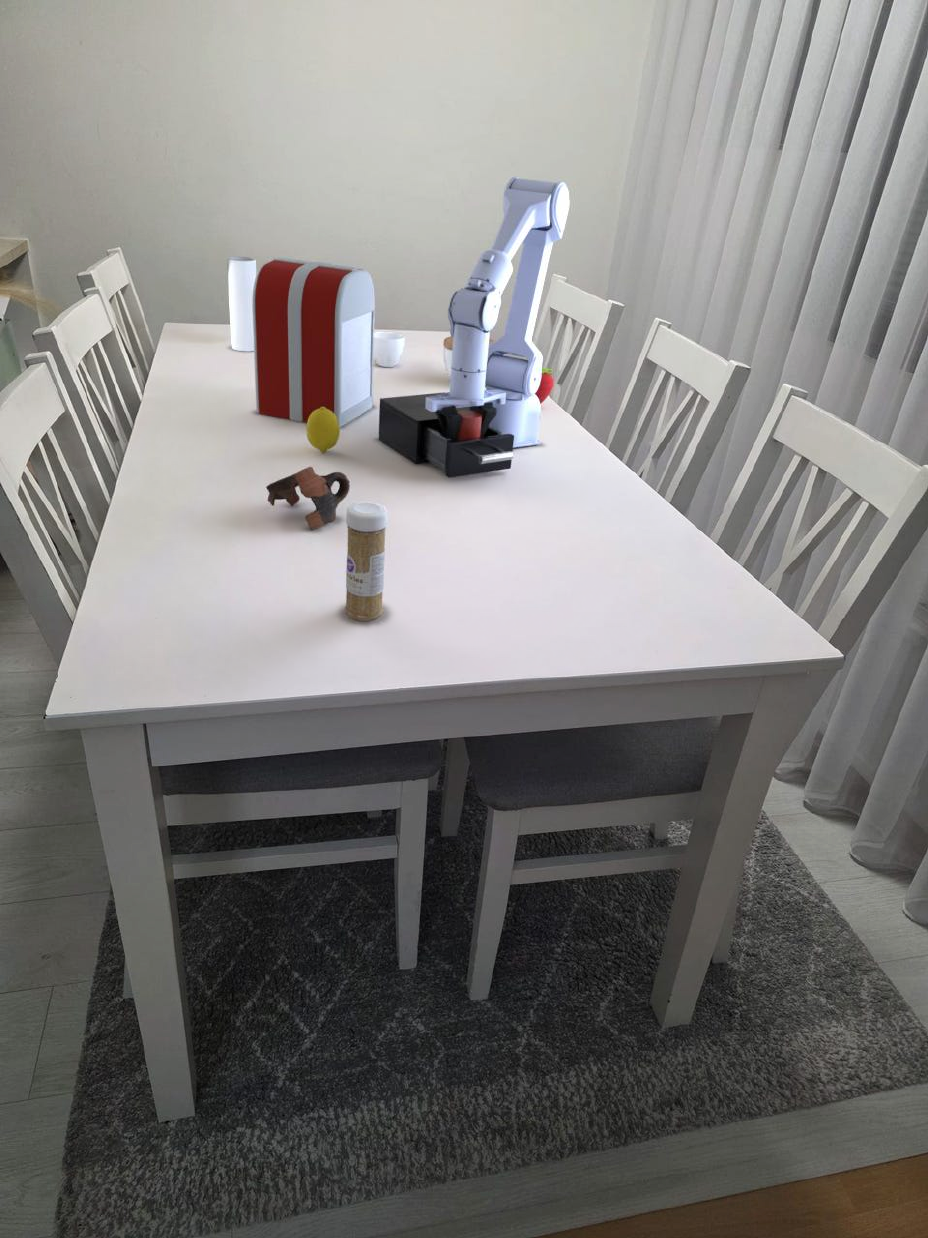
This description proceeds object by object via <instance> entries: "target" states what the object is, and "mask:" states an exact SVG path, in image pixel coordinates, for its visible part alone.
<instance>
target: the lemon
mask: <svg viewBox="0 0 928 1238" xmlns="http://www.w3.org/2000/svg"><path fill="white" fill-rule="evenodd" d="M306 437H307V440H308V442H309V444H310V445H311V446H312V447H313V448H315V449H317V450H318V451H319V452H320V453H323V454H324V453H326V452H327V451H328V450H330V449H332V448H334V447H335V446H336V444H338V441H339V438H340V428H339V423H338V420H337V417H336V416H335V414H334V413H333V412H332V411H330V410H328V409H326V408H325V407H321V408H320V409H317V410H315V411H314V412H312V414H311V415H310V416H309V419H308V422H306Z"/></svg>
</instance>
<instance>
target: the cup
mask: <svg viewBox="0 0 928 1238" xmlns="http://www.w3.org/2000/svg"><path fill="white" fill-rule="evenodd" d="M405 340H406V335H404V334H403V333H399V332H395V331H374V358H373V362H376V363H377V365H378V366H379V367H383V368H384V367H385V368H393V367H396V366H397V365H398V363H399V362H400V360H401V359H402V357H403V354H404V350H405V345H406V344H405V343H406V341H405Z"/></svg>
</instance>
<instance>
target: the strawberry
mask: <svg viewBox="0 0 928 1238" xmlns="http://www.w3.org/2000/svg"><path fill="white" fill-rule="evenodd" d="M546 361H547V359H545V360H544V361H543V362H542V368H541V372H542V374H541V381H540V385H539V388H538V390H537V391H536V393H535V395H536V396H537V397H538V399H539V401H540V405H542V403H544V402H545V401H546V400H547V398H548V397H549V396H550V394H551V393H552V390H553V388H554V387H555V385H554V384H555V382H554V381H555V380H554V377H553V374H552V372H555V371H556V370H555V369H550V368H546V369H545V368H544V367H543V365H544V364H545V363H546Z"/></svg>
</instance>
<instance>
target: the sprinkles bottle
mask: <svg viewBox="0 0 928 1238" xmlns="http://www.w3.org/2000/svg"><path fill="white" fill-rule="evenodd" d="M345 523H346V526H347V550H346V551H347V555H346V567H345V568H346V569H345V570H346V571H345V572H346V573H345V574H346V576H345V589H346V596H345V606H344V611H345V614H346V615H347V616H348V618H351V619H353V620H355V621H360V622H364V621H365V622H366V621H367V622H368V621H372V620H376V619H378V618H380V617H381V616H382V615H383V613H384V608H383V595H384V593H383V591H384V587H385V586H384V585H385V584H384V583H385V561H386V560H385V559H386V548H385V547H386V545H385V543H386V542H385V541H386V530H387V529H386V528H387V525H388V509H387V508H386V507H385V506H384V505H383V504H381V503H377V502H373V501H358V502H357V501H356V502H353V503H351V504H350V505H348V506H347V508H346V513H345Z"/></svg>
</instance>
